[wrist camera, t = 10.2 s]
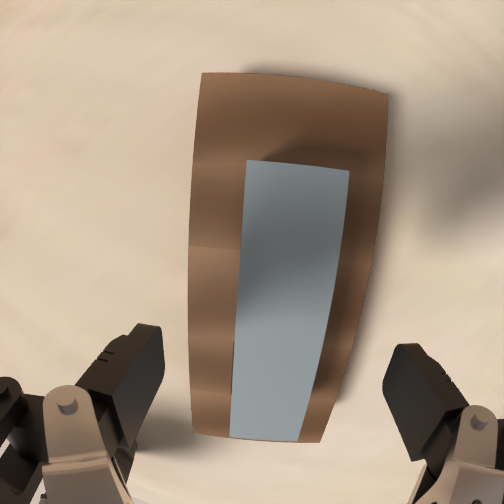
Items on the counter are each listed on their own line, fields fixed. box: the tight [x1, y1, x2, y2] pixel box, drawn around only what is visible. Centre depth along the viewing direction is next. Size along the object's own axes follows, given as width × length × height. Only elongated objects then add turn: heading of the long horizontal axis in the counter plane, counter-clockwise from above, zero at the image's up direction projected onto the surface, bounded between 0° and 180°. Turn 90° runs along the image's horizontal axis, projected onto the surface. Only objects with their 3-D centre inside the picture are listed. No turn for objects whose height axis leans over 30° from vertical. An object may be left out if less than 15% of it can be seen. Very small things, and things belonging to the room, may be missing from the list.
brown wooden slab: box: [188, 73, 388, 443], centre depth 16 cm, size 22×9×4 cm, turn 175°
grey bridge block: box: [229, 160, 349, 441], centre depth 14 cm, size 13×4×6 cm, turn 176°
